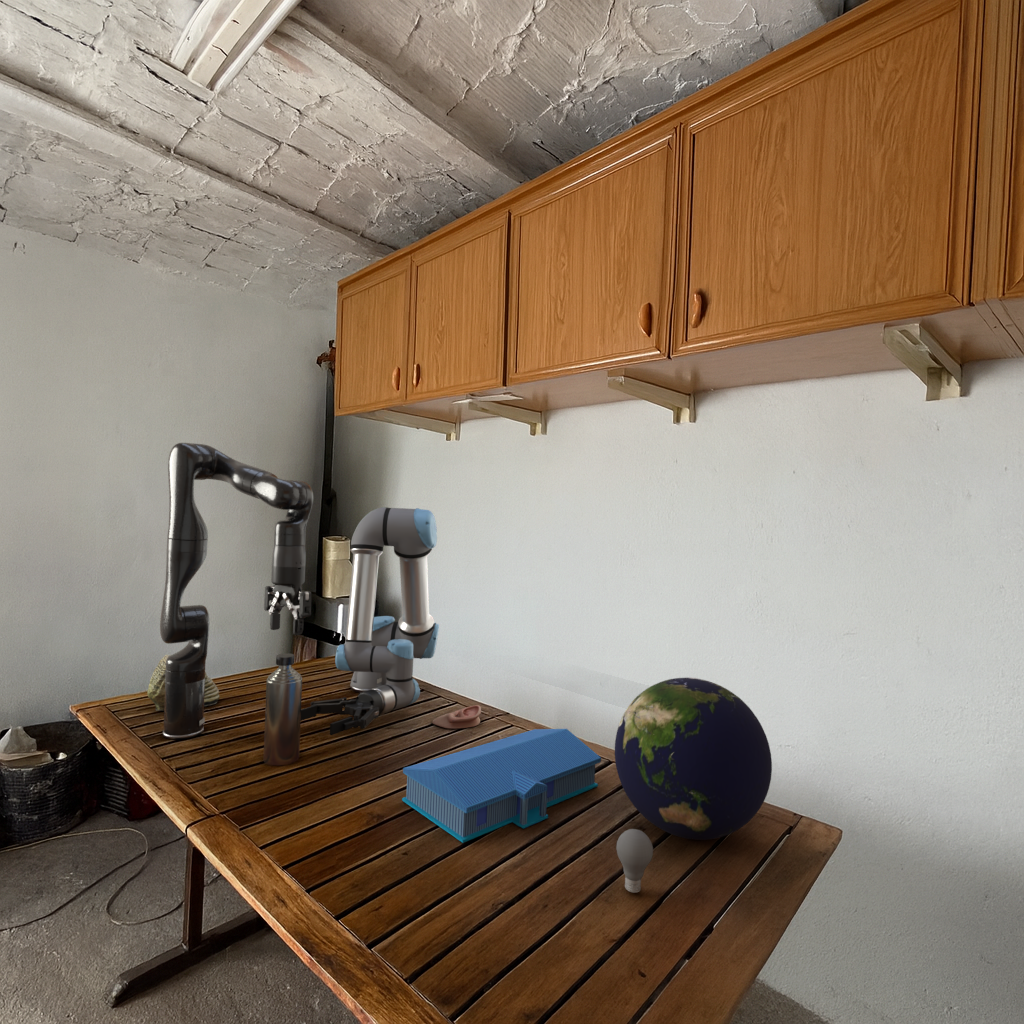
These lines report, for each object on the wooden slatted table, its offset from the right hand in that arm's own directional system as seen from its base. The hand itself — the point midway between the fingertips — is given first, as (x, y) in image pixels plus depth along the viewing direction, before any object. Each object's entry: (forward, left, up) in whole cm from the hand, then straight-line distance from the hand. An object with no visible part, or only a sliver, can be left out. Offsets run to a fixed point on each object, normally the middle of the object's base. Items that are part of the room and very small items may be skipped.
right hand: (312, 723), depth 159 cm
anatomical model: (-27, +31, -6) cm, 42 cm away
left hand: (+8, -4, +24) cm, 26 cm away
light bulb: (+42, +78, -6) cm, 89 cm away
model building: (+13, +52, -6) cm, 54 cm away
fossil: (-19, -49, -6) cm, 53 cm away
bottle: (+8, -4, -6) cm, 11 cm away
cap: (+8, -4, +18) cm, 20 cm away
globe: (+19, +89, -6) cm, 92 cm away
